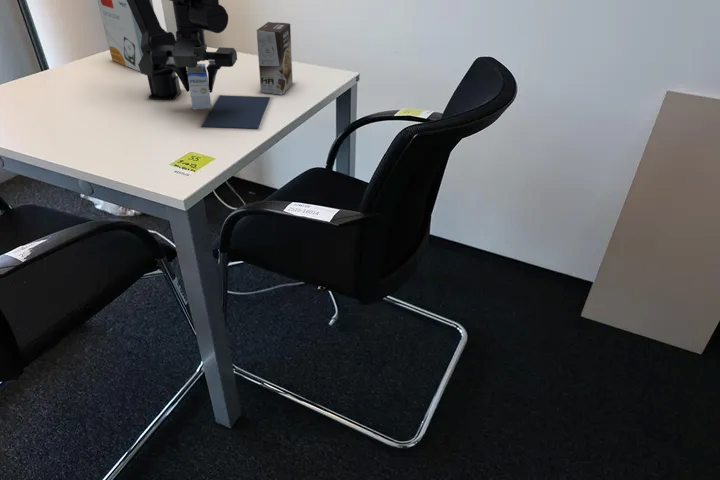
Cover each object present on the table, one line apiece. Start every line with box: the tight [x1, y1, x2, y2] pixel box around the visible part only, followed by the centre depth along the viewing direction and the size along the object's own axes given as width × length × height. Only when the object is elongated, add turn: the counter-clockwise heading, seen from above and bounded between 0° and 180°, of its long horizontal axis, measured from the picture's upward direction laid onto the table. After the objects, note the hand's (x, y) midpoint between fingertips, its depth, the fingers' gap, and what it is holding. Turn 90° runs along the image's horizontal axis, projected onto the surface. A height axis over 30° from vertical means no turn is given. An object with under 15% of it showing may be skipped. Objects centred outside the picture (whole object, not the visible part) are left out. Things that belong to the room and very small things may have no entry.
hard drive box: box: [97, 0, 155, 73], centre depth 152 cm, size 16×8×20 cm, turn 53°
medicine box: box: [186, 63, 212, 110], centre depth 129 cm, size 8×4×9 cm, turn 17°
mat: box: [200, 95, 271, 130], centre depth 132 cm, size 13×19×1 cm
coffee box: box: [256, 21, 293, 96], centre depth 141 cm, size 9×6×16 cm
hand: (199, 91), depth 129 cm, fingers closed on medicine box, 5 cm apart
